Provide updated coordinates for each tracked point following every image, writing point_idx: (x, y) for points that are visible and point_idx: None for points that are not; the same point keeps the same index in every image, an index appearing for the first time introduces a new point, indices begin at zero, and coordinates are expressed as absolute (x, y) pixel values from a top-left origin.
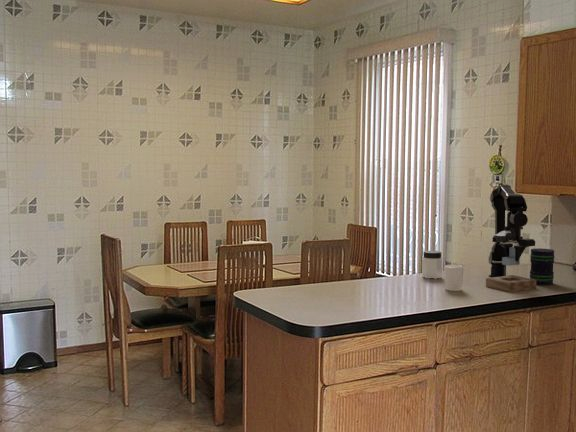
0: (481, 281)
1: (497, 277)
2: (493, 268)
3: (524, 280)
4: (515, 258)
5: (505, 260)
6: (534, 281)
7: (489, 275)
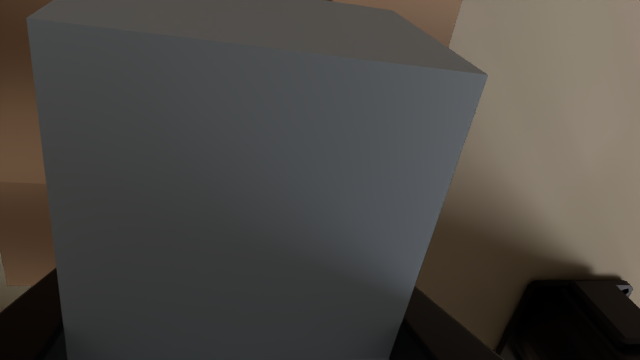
0: (614, 60)
1: (421, 13)
2: (638, 333)
3: (40, 140)
4: (49, 316)
5: (287, 21)
6: (8, 247)
7: (624, 285)
